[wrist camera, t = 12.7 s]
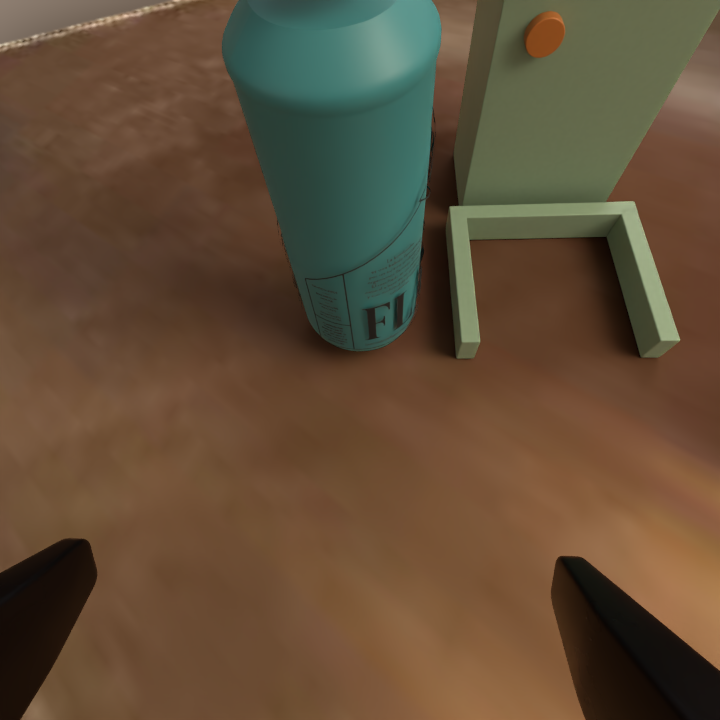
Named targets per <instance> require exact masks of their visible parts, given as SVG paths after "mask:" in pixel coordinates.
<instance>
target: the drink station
mask: <svg viewBox="0 0 720 720" xmlns="http://www.w3.org/2000/svg"><path fill="white" fill-rule="evenodd" d="M719 9H720V0H478V1H477V7H476V14H475V20H474V26H473V33H472V39H471V45H470V52H469V58H468V65H467V71H466V77H465V84H464V90H463V96H462V103H461V109H460V115H459V122H458V128H457V134H456V141H455V147H454V153H453V154H454V164H455V174H456V184H457V194H458V203H459V206H450V207H449V211H448V217H447V223H446V240H447V252H448V264H449V276H450V289H451V301H452V313H453V326H454V338H455V350H456V358H474V356H475V354H476V351H477V349H478V346H479V344H480V334H479V325H478V316H477V307H476V297H475V288H474V279H473V270H472V261H471V252H470V243H469V240H482V239H528V238H575V237H607V240H608V244H609V247H610V251H611V254H612V258H613V261H614V265H615V268H616V272H617V275H618V279H619V282H620V286H621V289H622V293H623V297H624V300H625V304H626V307H627V311H628V314H629V318H630V321H631V325H632V328H633V332H634V335H635V339H636V342H637V346H638V349H639V353H640V356H641V357H660V356H661V355H663V354H664V353H665V352H666V351H668V350H669V349H670V348H671V347H673V346H674V345H675V344H677V343H678V342H679V341H680V338H679V335H678V332H677V329H676V326H675V323H674V320H673V317H672V314H671V311H670V308H669V305H668V302H667V299H666V296H665V293H664V290H663V287H662V284H661V281H660V278H659V275H658V272H657V269H656V266H655V263H654V260H653V257H652V254H651V251H650V248H649V245H648V242H647V239H646V236H645V233H644V230H643V227H642V224H641V221H640V218H639V215H638V211H637V208H636V205H635V202H634V201H631V202H606V200H607V199H608V197H609V195H610V194H611V192H612V190H613V188H614V187H615V185H616V183H617V182H618V180H619V178H620V177H621V175H622V173H623V172H624V170H625V168H626V166H627V165H628V163H629V161H630V160H631V158H632V156H633V155H634V153H635V151H636V149H637V148H638V146H639V144H640V143H641V141H642V139H643V138H644V136H645V134H646V133H647V131H648V129H649V127H650V126H651V124H652V122H653V121H654V119H655V117H656V116H657V114H658V112H659V111H660V109H661V107H662V105H663V104H664V102H665V100H666V99H667V97H668V95H669V94H670V92H671V90H672V89H673V87H674V85H675V83H676V82H677V80H678V78H679V77H680V75H681V73H682V72H683V70H684V68H685V67H686V65H687V63H688V61H689V60H690V58H691V56H692V55H693V53H694V51H695V50H696V48H697V46H698V45H699V43H700V41H701V39H702V38H703V36H704V34H705V33H706V31H707V29H708V28H709V26H710V24H711V23H712V21H713V19H714V17H715V16H716V14H717V12H718V11H719Z"/></svg>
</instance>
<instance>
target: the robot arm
mask: <svg viewBox="0 0 720 720" xmlns="http://www.w3.org/2000/svg"><path fill="white" fill-rule="evenodd" d="M96 579H97V568H96V564H95V561H94V557H93V553H92V550H91V546H90V543H89V542H88V541H87V540H85V539H77V538H67V539H63V540H61V541H59V542H57V543H55V544H53V545H51V546H49V547H48V548H46V549H44V550H42V551H40V552H38V553H36V554H35V555H33V556H31V557H29V558H27V559H25V560H23V561H22V562H20V563H18V564H16V565H14V566H12V567H10V568H9V569H7V570H5V571H3V572H1V573H0V720H20V719H21V718H22V716H23V714H24V713H25V711H26V709H27V708H28V706H29V705H30V703H31V701H32V700H33V698H34V697H35V695H36V693H37V692H38V690H39V688H40V687H41V685H42V684H43V682H44V680H45V679H46V677H47V675H48V674H49V672H50V670H51V668H52V667H53V665H54V663H55V661H56V659H57V657H58V656H59V654H60V652H61V650H62V648H63V646H64V644H65V642H66V640H67V638H68V636H69V634H70V632H71V630H72V628H73V626H74V624H75V623H76V621H77V619H78V617H79V615H80V613H81V611H82V609H83V607H84V605H85V603H86V601H87V599H88V597H89V595H90V593H91V591H92V589H93V587H94V585H95V582H96ZM551 599H552V605H553V608H554V612H555V616H556V620H557V623H558V627H559V631H560V635H561V638H562V642H563V646H564V650H565V653H566V657H567V661H568V665H569V668H570V672H571V676H572V680H573V683H574V687H575V690H576V693H577V697H578V700H579V703H580V706H581V708H582V711H583V714H584V717H585V719H586V720H720V671H719V670H718V669H717V668H716V667H714V666H713V665H712V664H711V663H710V662H708V661H707V660H706V659H705V658H703V657H702V656H701V655H700V654H699V653H697V652H696V651H695V650H694V649H693V648H691V647H690V646H689V645H688V644H687V643H685V642H684V641H683V640H682V639H681V638H679V637H678V636H677V635H676V634H674V633H673V632H672V631H671V630H670V629H668V628H667V627H666V626H665V625H664V624H662V623H661V622H660V621H659V620H658V619H656V618H655V617H654V616H653V615H652V614H650V613H649V612H648V611H647V610H645V609H644V608H643V607H642V606H641V605H639V604H638V603H637V602H636V601H635V600H633V599H632V598H631V597H630V596H629V595H627V594H626V593H625V592H624V591H623V590H621V589H620V588H619V587H618V586H616V585H615V584H614V583H613V582H612V581H610V580H609V579H608V578H607V577H606V576H604V575H603V574H602V573H601V572H600V571H598V570H597V569H596V568H595V567H594V566H592V565H591V564H590V563H589V562H587V561H586V560H585V559H583V558H582V557H578V556H560V557H558V558H557V560H556V564H555V570H554V576H553V582H552V588H551Z"/></svg>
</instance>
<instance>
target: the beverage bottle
mask: <svg viewBox="0 0 720 720" xmlns="http://www.w3.org/2000/svg"><path fill="white" fill-rule="evenodd" d="M440 44H441V23H440V17H439V14H438V11H437V9H436V7H435V5H434V3H433V2H432V0H239V1H238V3H237V4H236V6H235V8H234V10H233V12H232V14H231V16H230V18H229V21H228V23H227V26H226V28H225V31H224V34H223V40H222V55H223V59H224V62H225V65H226V68H227V71H228V73H229V75H230V77H231V79H232V80H233V82H234V85H235V88H236V91H237V95H238V98H239V101H240V104H241V107H242V110H243V113H244V116H245V119H246V122H247V126H248V129H249V132H250V135H251V138H252V141H253V144H254V147H255V150H256V153H257V157H258V160H259V163H260V166H261V169H262V172H263V175H264V178H265V181H266V185H267V188H268V191H269V194H270V197H271V200H272V203H273V206H274V209H275V212H276V216H277V225H278V222H279V225H280V228H281V232H282V234H281V236H282V238H283V240H284V243H282V244H285V245H284V246H285V247H286V250H285V251H287V254H288V257H289V260H290V263H291V266H292V270H293V273H294V276H295V280H296V282H297V285H298V288H299V293H300V294H299V295H301V305H302V301H303V304H304V307H305V311H306V314H307V317H308V319H309V322H310V324H311V325H312V327H313V328H314V330H315V331H316V332H317V333H318V334H319V335H320V336H321V338H322V339H323V338H324V339H325V341H327V342H329V343H331V344H332V345H334V346H336V347H339V348H342V349H346V350H350V351H369V350H374V349H378V348H381V347H384V346H386V345H388V344H390V343H391V342H393V341H394V340H396V339H397V338H398V337H399V336H400V335H401V334H403V333H404V332H405V331H406V330H405V329H406V327H407V326H408V324H409V323H410V321H411V320H412V317H413V314H414V311H415V308H416V307H415V306H416V299H417V296H418V295H417V293H418V292H419V293H418V294H419V296H420V290H418V288H417V287H418V286H419V282H418V275H419V273H420V276H419V281H420V287H421V274H422V267H421V270H420V272H419V264H420V262H421V260H422V257H423V253H424V248H423V247H422V249H421V245H422V244H423V243H422V232H423V230H424V228H423V223H424V222H425V221H424V210H425V199H427V198H428V197H429V195H430V194H429V195H428V196H427V197H426V189H427V188H428V189H429V190H430V188H429V187H428V186H427V183H428V181H427V178H428V180H429V177H430V178H431V175H429V176H428V171H429V173H431V172H430V168H429V170H428V167H429V156H430V147H431V138H432V127H431V120H432V109H433V95H434V83H435V71H436V59H437V56H438V53H439V49H440ZM433 115H434V111H433ZM434 122H435V118H434ZM433 134H434V133H433ZM435 137H436V135H435ZM433 146H434V141H433V143H432V147H433ZM432 147H431V152H432V156H433V151H432ZM434 152H435V151H434ZM433 158H434V157H433ZM431 160H432V158H430V163H431ZM431 169H432V165H431ZM429 182H430V180H429ZM423 221H424V222H423ZM424 226H425V223H424ZM278 233H279V231H278ZM282 238H281V240H282ZM282 242H283V241H282ZM280 243H281V242H280ZM421 243H422V244H421ZM284 249H285V248H284ZM293 282H294V281H293ZM296 282H295V283H294V284H295V286H296ZM296 293H297V292H296ZM299 295H297V296H299ZM299 297H300V296H299ZM418 303H419V302H418ZM417 307H418V306H417ZM417 310H418V309H417ZM415 312H416V311H415ZM416 313H417V312H416ZM414 315H415V314H414ZM415 316H416V315H415ZM414 318H415V317H414ZM413 320H414V319H413ZM411 323H412V322H411ZM409 326H410V325H409ZM404 330H405V331H404Z"/></svg>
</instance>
